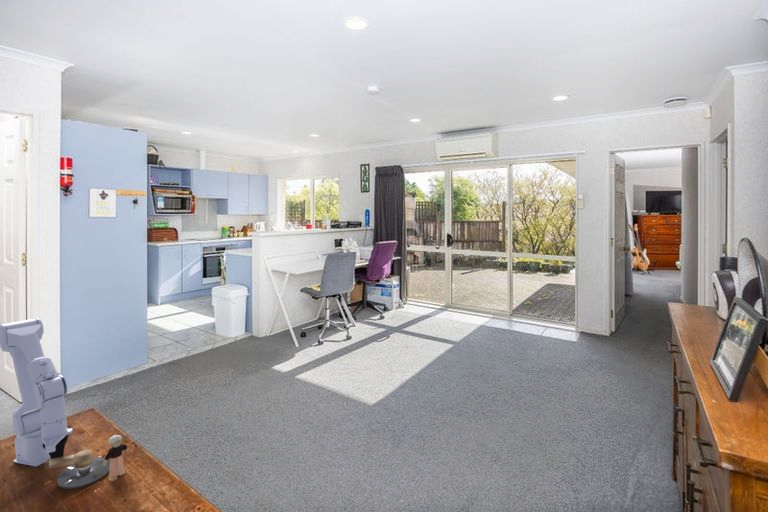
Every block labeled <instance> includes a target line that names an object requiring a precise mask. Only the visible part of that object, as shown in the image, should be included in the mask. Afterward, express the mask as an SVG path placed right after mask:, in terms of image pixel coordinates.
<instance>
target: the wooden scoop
mask: <svg viewBox="0 0 768 512" xmlns="http://www.w3.org/2000/svg"><path fill="white" fill-rule="evenodd" d="M93 455H94V454H93V450H92V449H84V450H83V449H82V450H80V451H78V452H77V453H75V454H70V455H65V456H63V457H59V458H54V459H51V458H50V459H48V460H46V461H45V462H44V463H43V464H44V470H45V471H46V470H49V469H55V468H59V467H64V466H71V465H73V464H75V467H76V468H84V467H86V466H89V465H90V464H92V462H93V458H94V456H93Z"/></svg>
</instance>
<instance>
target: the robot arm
mask: <svg viewBox="0 0 768 512" xmlns="http://www.w3.org/2000/svg"><path fill="white" fill-rule="evenodd" d="M43 334H44V325H43V322H42V319H40V318H39V317H34V318H30V319H24V320H19V321H14V322H10V323H9V322H8V323H1V324H0V349H1V350H2V351H1V352H6V353H9V354H10V356H11V358H12V363H13V366H14V367H13V368H14V372H15V376H16V381H17V384H18V385H17V386H18V389H19V394H20V399H21V404H20V405H19V406H18V407H17V408H16V409H15V410H14V411H13V413H12V420H13V421H12V424H13V425H12V427H13V430H14V434H15V435H16V437H15V439H14V449H15V450H14V451H15V459H13V463H16V464H22V465H25V466H26V465H28V466H31V467H39V466H40V465H42V464H44V463H45V461H46V460H48V459H54V458H59V457H64V455H65V447H66V445H67V441H68V438H69V435H70V434H72V433H73V428H72V427H71V428H68V423H67V412H66V402H65V401H66V399H65V395H67V393H68V384H67V382H66V379H65V376H63V375H62V374H61V373H60V372H57V368H56V366H55V365H54V362H53V361H52V359H51V358H49V357H45V354H44V352H43V351H44V350H43V348H42V345H41V342H40V341H41V340H42V338H43ZM33 410H34V411H33Z"/></svg>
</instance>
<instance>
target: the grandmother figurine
mask: <svg viewBox="0 0 768 512" xmlns="http://www.w3.org/2000/svg"><path fill="white" fill-rule="evenodd" d="M122 440H123V437H122V435H120V434H113V435H112V436H111V437H110V438H109V439H108V444H109V445H110V446H111V448H109V450H108V451H107V453H106V455H105V456H104V457H103V458H104V463H103V464H102V465H103V466H106V464H107V462H108V460H110V467H109V472H108V475H109V476H108V480H109V481H110V482H115V481H116V480H118V477H121V476H124V475H125V474H126V471H125V466H124V459H123V458H124V457H123V451H125V453H129V452H130V448H129V447H128V445H126V444H125V443H124V444H123V443H122Z"/></svg>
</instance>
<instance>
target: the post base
mask: <svg viewBox="0 0 768 512" xmlns="http://www.w3.org/2000/svg"><path fill="white" fill-rule="evenodd" d="M104 458H105V457H93V462H92V464H90V465H89V466H86V467H84V468H76V467H75V464H70V465H68V466H67V467H66V468H65V469H63V470H61V472H60V473H59V474H58V475H57V479H56V484H57V486H58V487H59V488H60V489H64V490H75V489H79V488H80V489H81V488H83V487H88V486H89V485H93V484H94V483H96V482H98V481H100V480H101V479H103V478H105V477H106V476H107V475H109V467H110V459H109V460H108V462H107V464H106V466H103V465H102V464H103V463H104ZM106 474H107V475H106Z"/></svg>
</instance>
